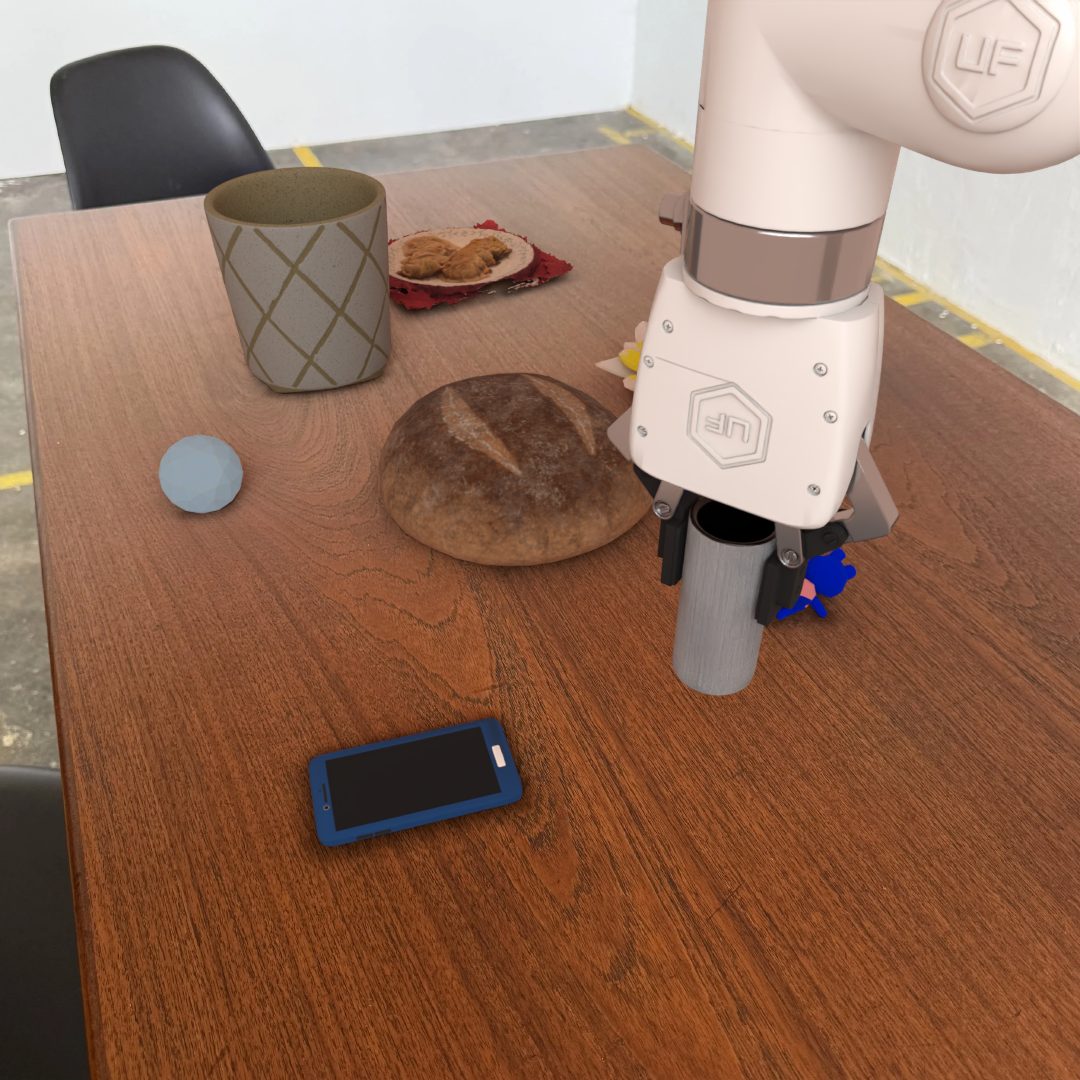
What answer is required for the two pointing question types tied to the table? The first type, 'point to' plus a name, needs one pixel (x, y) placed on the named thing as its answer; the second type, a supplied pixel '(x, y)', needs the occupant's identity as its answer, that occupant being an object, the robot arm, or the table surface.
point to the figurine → (821, 582)
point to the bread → (509, 472)
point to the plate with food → (464, 264)
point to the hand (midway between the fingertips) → (725, 587)
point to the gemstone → (200, 473)
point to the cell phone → (412, 781)
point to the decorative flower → (627, 359)
